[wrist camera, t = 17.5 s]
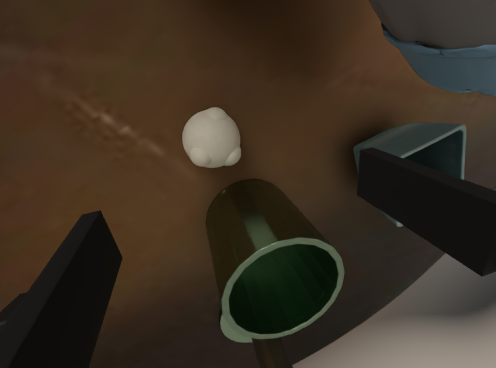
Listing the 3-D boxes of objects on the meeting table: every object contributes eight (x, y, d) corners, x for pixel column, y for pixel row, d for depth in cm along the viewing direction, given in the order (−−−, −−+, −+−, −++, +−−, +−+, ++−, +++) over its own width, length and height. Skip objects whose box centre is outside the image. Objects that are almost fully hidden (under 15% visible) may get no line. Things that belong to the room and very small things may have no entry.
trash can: (191, 202, 29) (199, 278, 18) (275, 165, 30) (332, 215, 19) (225, 265, 34) (248, 356, 23) (296, 232, 35) (351, 303, 24)
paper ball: (171, 123, 25) (169, 135, 20) (217, 96, 25) (227, 101, 20) (201, 168, 28) (206, 188, 23) (243, 143, 28) (257, 157, 23)
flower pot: (348, 195, 35) (398, 229, 27) (335, 140, 31) (389, 162, 23) (400, 168, 36) (464, 194, 28) (394, 111, 32) (467, 122, 24)
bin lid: (206, 303, 36) (217, 388, 26) (279, 267, 37) (316, 336, 27) (235, 346, 42) (253, 430, 32) (298, 314, 43) (334, 386, 33)
